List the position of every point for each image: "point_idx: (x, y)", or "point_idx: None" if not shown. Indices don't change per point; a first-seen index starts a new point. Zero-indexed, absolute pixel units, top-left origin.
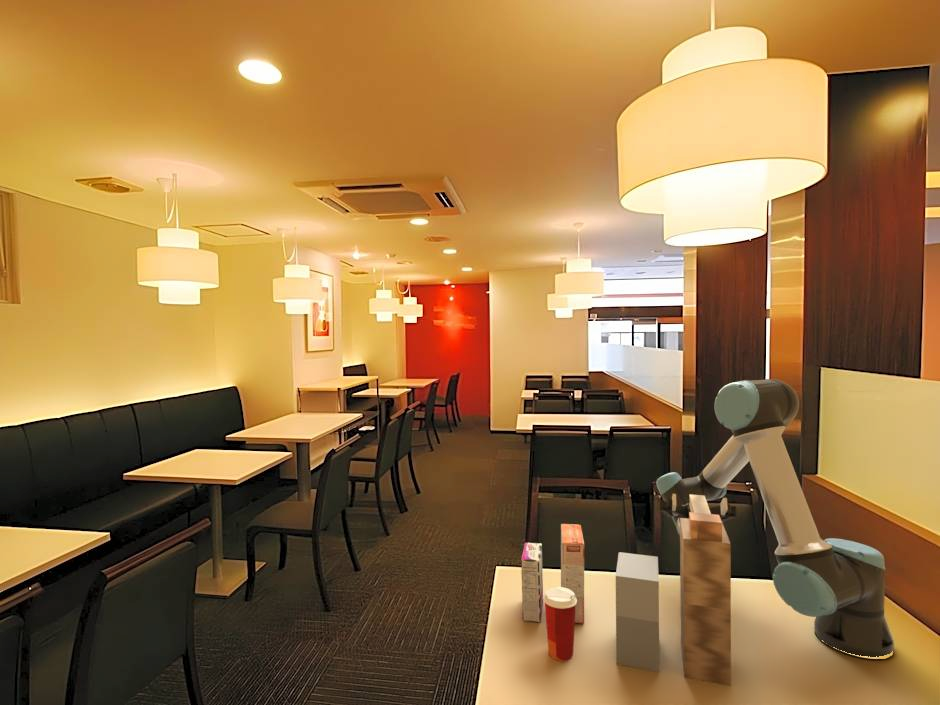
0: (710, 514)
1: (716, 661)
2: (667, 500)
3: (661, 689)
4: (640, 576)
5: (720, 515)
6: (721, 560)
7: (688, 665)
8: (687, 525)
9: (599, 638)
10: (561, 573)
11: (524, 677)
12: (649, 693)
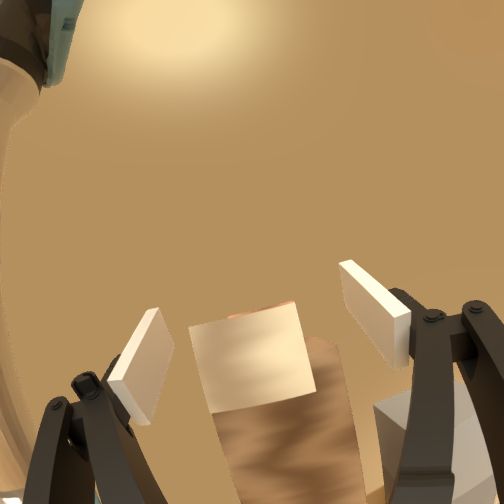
0: (246, 312)
1: None
2: (401, 294)
3: (374, 500)
4: (406, 395)
5: (139, 449)
6: None
7: None
8: (309, 345)
9: (497, 497)
10: None
11: None
12: (384, 489)
